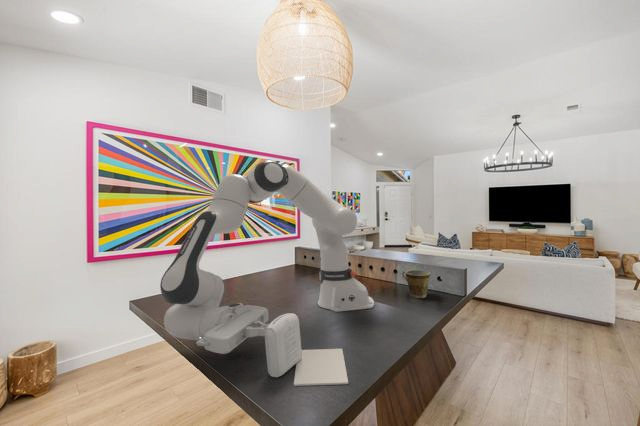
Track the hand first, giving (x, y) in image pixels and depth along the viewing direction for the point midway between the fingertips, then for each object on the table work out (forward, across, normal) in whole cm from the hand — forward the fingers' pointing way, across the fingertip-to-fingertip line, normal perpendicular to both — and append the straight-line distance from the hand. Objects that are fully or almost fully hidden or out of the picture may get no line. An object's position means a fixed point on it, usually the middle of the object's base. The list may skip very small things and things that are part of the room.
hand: (267, 330), depth 71 cm
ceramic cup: (+36, +66, +9) cm, 76 cm away
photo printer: (+4, +1, +9) cm, 10 cm away
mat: (+12, +3, +9) cm, 16 cm away
